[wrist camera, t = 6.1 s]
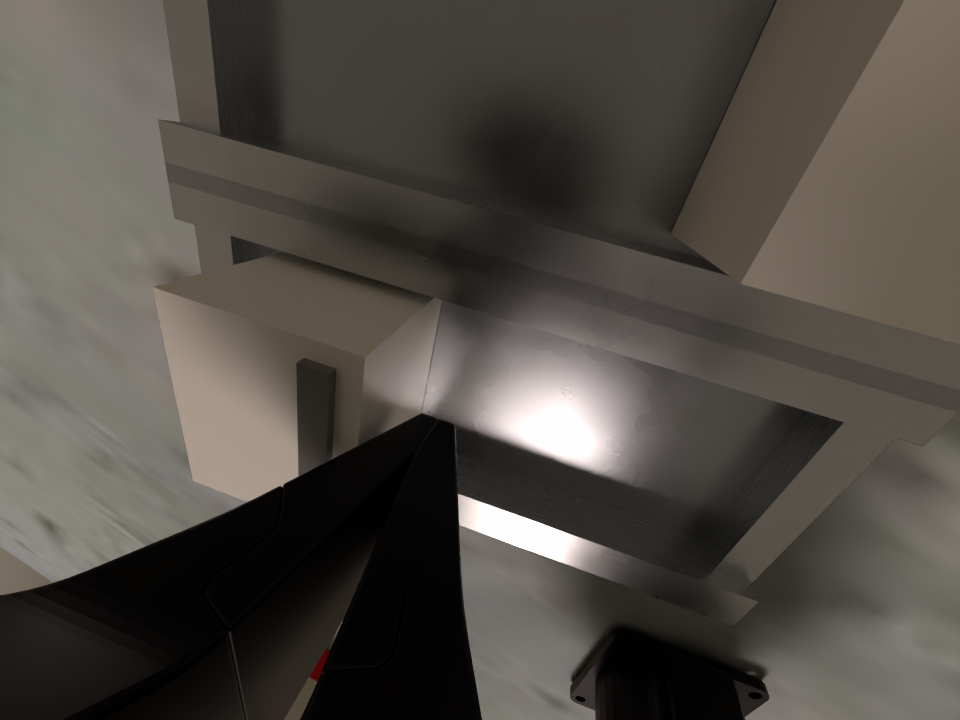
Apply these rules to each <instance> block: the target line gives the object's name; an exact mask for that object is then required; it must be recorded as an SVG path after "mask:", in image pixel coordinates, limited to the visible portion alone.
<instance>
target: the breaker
mask: <svg viewBox="0 0 960 720" xmlns="http://www.w3.org/2000/svg"><path fill="white" fill-rule="evenodd" d="M153 292H154V297H155V301H156V306H157V311H158V316H159V320H160V325H161V330H162V335H163V340H164V344H165V349H166V354H167V359H168V363H169V368H170V373H171V378H172V382H173V387H174V392H175V397H176V401H177V406H178V411H179V416H180V420H181V425H182V430H183V435H184V440H185V444H186V449H187V454H188V459H189V463H190V468H191V473H192V478H193V481H194V482H197V483H200V484H202V485H205V486H207V487H210V488H212V489H215V490H218V491H220V492H223V493H225V494H228V495H231V496H233V497H236V498H238V499H241V500H244V501H246V502H248V501H250V500H252V499H254V498H257V497H259V496H261V495H263V494H264V493H266V492H268V491H270V490H272V489H274V488H276V487H278V486H282V487H283V485H284V483H286V482H288V481H290V480H292V479H294V478H296V477H298V476H300V475H302V474H304V473H306V472H308V471H310V470H312V469H314V468H315V467H317V466H319V465H321V464H323V463H325V462H327V461H329V460H331V459H333V458H335V457H337V456H339V455H341V454H343V453H345V452H347V451H349V450H351V449H352V448H354V447H356V446H358V445H360V444H362V443H364V442H366V441H368V440H370V439H372V438H374V437H376V436H378V435H380V434H382V433H384V432H386V431H388V430H389V429H391V428H393V427H395V426H397V425H399V424H401V423H403V422H405V421H407V420H409V419H411V418H413V417H415V416H417V415H419V414H421V412H422V406H423V401H424V395H425V390H426V385H427V379H428V374H429V368H430V363H431V357H432V352H433V346H434V341H435V335H436V330H437V324H438V319H439V313H440V308H441V302H442V300H440V299H437V298H434V297H431V296H427V295H424V294H421V293H417V292H414V291H411V290H408V289H404V288H401V287H398V286H394V285H391V284H388V283H385V282H381V281H378V280H375V279H371V278H368V277H365V276H362V275H358V274H355V273H352V272H348V271H345V270H342V269H339V268H335V267H332V266H329V265H325V264H322V263H319V262H316V261H312V260H309V259H306V258H302V257H299V256H296V255H293V254H289V253H286V252H280V253H276V254H273V255H269V256H265V257H262V258H258V259H254V260H251V261H247V262H243V263H240V264H236V265H232V266H229V267H225V268H221V269H218V270H214V271H210V272H207V273H203V274H199V275H196V276H192V277H188V278H185V279H181V280H177V281H174V282H170V283H166V284H163V285H159V286H155V287H153Z"/></svg>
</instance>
